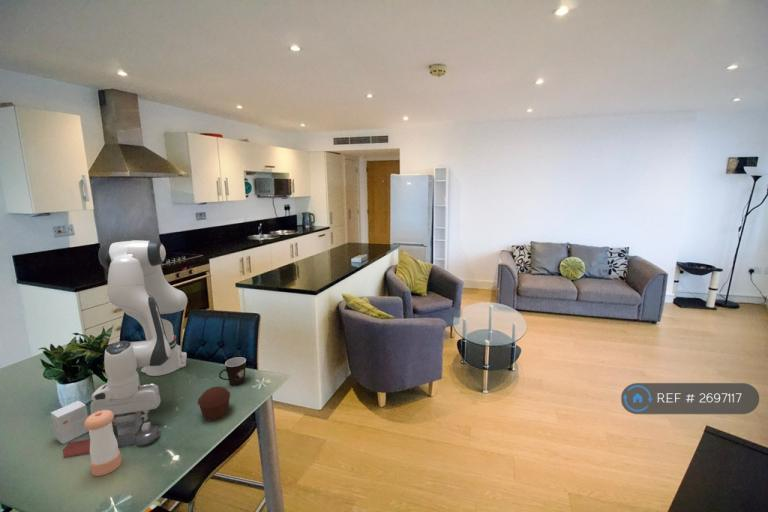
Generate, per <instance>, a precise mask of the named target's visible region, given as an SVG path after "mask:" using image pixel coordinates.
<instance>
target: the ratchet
mask: <svg viewBox="0 0 768 512" xmlns="http://www.w3.org/2000/svg"><path fill="white" fill-rule="evenodd" d="M115 438H116V440H117V443H118V447H119V448H123V446H124V447H129V446H128V445H130V446H135V445H136V447H138V448H144V447H148V446H151V445H154V444H155V443H157V441H159V439H161V432H160V427H159V425H155V424H153V425H152V424H151V421H148V422H144V423H142V424H141V428H139V429H138V431H137V432H136V433H130V434H124V435H115ZM62 453H63V458H64V459H65V458H71V457H75V456H81V455H88V454H90V438H89V439H82V440H74V441H71V442H70V441H69V442H67V444H66V446H65V447H64V448H63V449H62Z"/></svg>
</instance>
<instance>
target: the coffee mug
mask: <svg viewBox="0 0 768 512" xmlns="http://www.w3.org/2000/svg"><path fill="white" fill-rule="evenodd" d="M224 365H225V369H222V370H221V371H219V374H218V377H219V379H221V380H224V381H228V384H229V386H231V387H236V386H237V387H238V386H240V385H243V384H244V383H245V381H246V370H247V369H246V366H247V359H246V358H245V357H240V356H239V357H237V356H236V357H232V358H229V359H227V360H226V361H225V363H224ZM223 372H226V373H227V374H226V375H227V378H223V377H222V376H221V375H222V373H223Z"/></svg>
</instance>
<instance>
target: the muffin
mask: <svg viewBox="0 0 768 512" xmlns="http://www.w3.org/2000/svg"><path fill="white" fill-rule="evenodd" d="M230 397H231V392H230V391H229V390H228V389H227V388H226V387H223V386H218V385H217V386H212V387H210V388H208V389H207V390H205V391H204V392H203V393H202V394H201V396H200V397H199V399H198V400H197V405H198V406H199V409H200V412H201V415H202V418H203V419H205V421H216V420H219V419H222V418H223V417H224V416H225V415H227V414H228V410H229V405H230Z"/></svg>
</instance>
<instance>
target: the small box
mask: <svg viewBox="0 0 768 512" xmlns="http://www.w3.org/2000/svg"><path fill="white" fill-rule="evenodd" d="M87 409H88V408H87V405H86V404H85V403H83V402H82V401H80V400H76V401H74V402H72V403H70V404H67V405H65V406H63V407H60V408H58V409H56V410H54V411H51V412H50V416H51V422H52V426H53V427H52V428H53V432H54V436H55V437H54V438H55V440H56V441H58V442H59V443H61V444H62V445H64V444H66V443H67V444H68V443H69V442H70V441H71V442H72V440H74V439H77V438H78V437H80V436H82V435H85V434H86V433H89V430H88V429H86V428H85V427H84V422H85V420H86V419H87V418H88V417H89V414H88V410H87Z"/></svg>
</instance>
